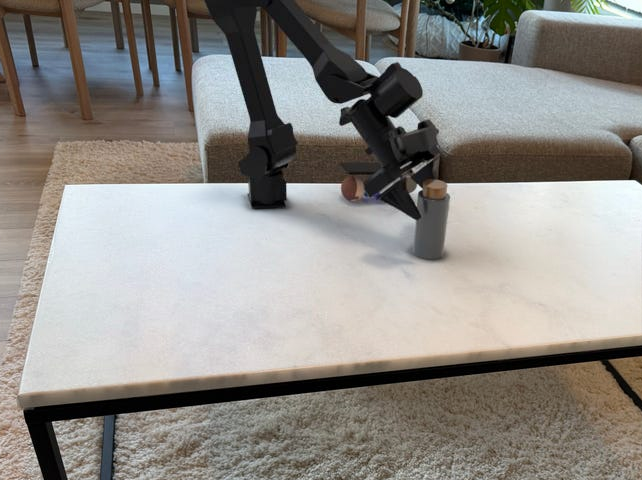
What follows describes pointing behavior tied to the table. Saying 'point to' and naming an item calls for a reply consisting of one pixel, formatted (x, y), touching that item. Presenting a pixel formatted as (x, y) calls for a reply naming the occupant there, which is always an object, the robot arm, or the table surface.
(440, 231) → the pepper mill
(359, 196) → the figurine character
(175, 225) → the table surface
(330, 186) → the table surface
